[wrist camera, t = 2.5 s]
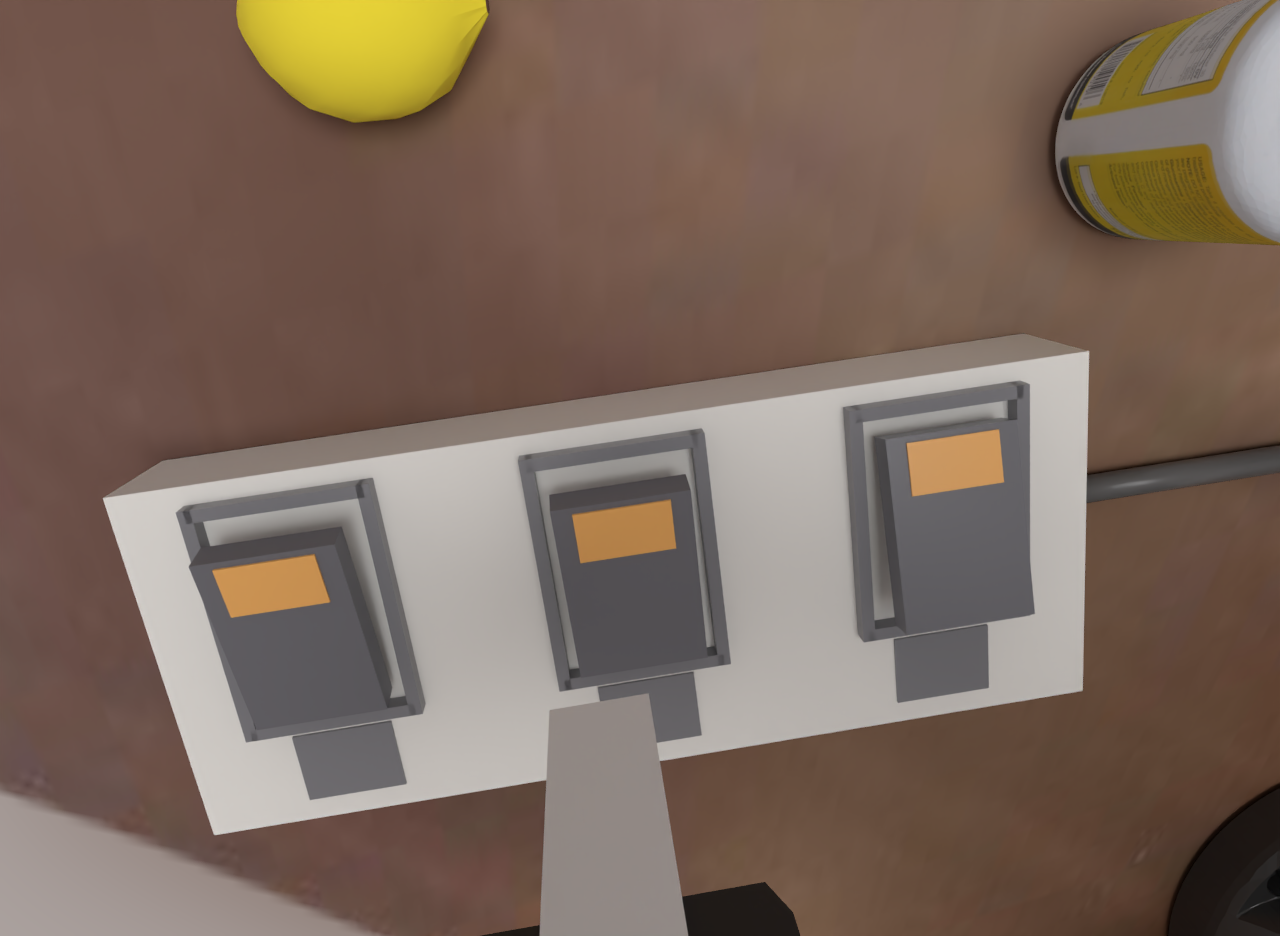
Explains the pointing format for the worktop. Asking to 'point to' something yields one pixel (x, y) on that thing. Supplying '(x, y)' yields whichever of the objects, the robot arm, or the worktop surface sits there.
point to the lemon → (363, 51)
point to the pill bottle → (1180, 131)
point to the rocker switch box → (534, 592)
